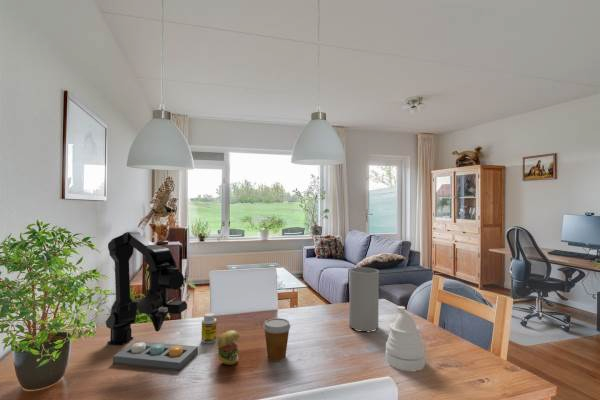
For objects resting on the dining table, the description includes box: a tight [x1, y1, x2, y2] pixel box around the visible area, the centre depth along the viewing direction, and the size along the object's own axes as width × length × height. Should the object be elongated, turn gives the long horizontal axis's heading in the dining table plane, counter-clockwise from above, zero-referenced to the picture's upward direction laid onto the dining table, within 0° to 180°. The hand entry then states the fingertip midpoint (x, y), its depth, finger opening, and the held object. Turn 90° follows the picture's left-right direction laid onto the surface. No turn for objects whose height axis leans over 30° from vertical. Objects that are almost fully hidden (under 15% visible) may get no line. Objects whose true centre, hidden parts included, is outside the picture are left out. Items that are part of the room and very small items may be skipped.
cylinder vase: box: [348, 266, 380, 331], centre depth 141 cm, size 12×12×25 cm
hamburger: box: [216, 326, 240, 366], centre depth 108 cm, size 8×7×12 cm
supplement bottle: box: [201, 312, 218, 344], centre depth 125 cm, size 6×6×10 cm
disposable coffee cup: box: [262, 317, 292, 362], centre depth 112 cm, size 10×10×12 cm
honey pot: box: [385, 305, 426, 371], centre depth 110 cm, size 13×13×18 cm
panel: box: [112, 340, 199, 372], centre depth 110 cm, size 24×12×3 cm, turn 81°
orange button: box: [169, 346, 183, 357], centre depth 109 cm, size 4×4×3 cm
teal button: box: [150, 344, 164, 356], centre depth 110 cm, size 4×4×3 cm
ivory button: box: [131, 341, 146, 354], centre depth 111 cm, size 4×4×3 cm
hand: (157, 331), depth 110 cm, fingers closed
